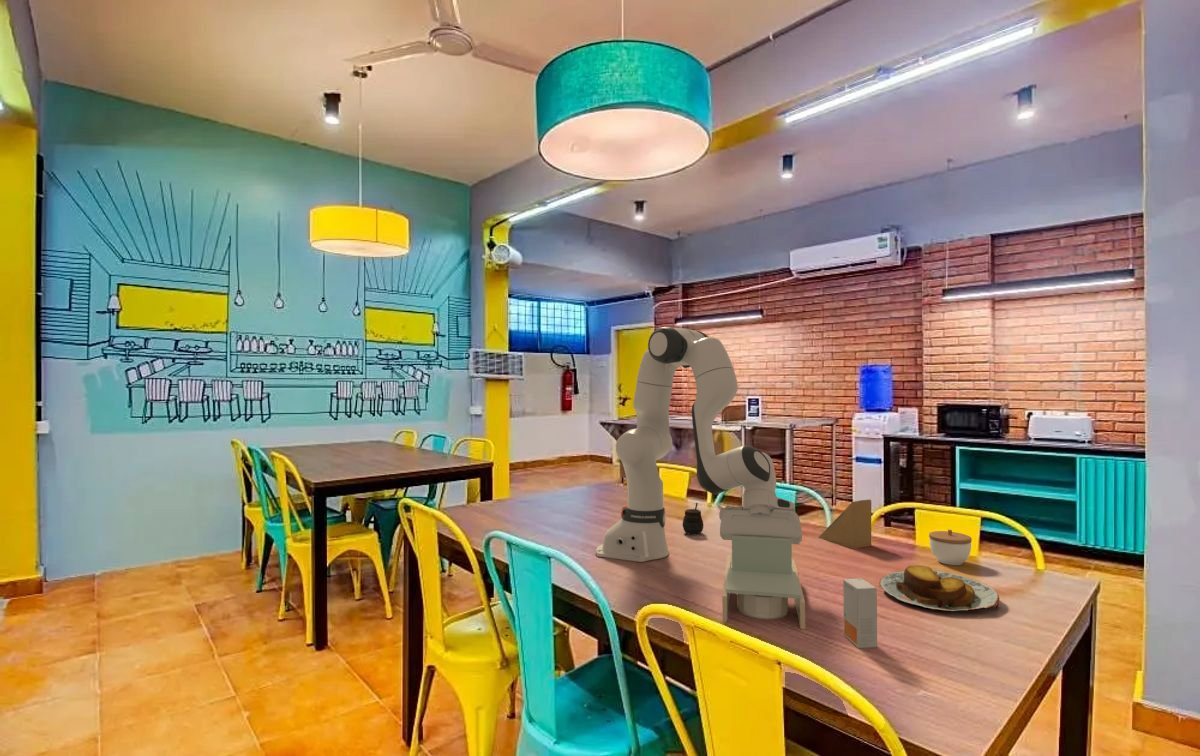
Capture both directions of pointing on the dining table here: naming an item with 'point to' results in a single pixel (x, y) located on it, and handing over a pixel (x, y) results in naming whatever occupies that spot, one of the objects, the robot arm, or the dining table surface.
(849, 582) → the skincare box
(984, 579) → the dining table surface
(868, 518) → the sandwich container
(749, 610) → the bowl stand
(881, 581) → the food on plate
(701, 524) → the mate gourd
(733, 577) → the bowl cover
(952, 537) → the lidded jar
